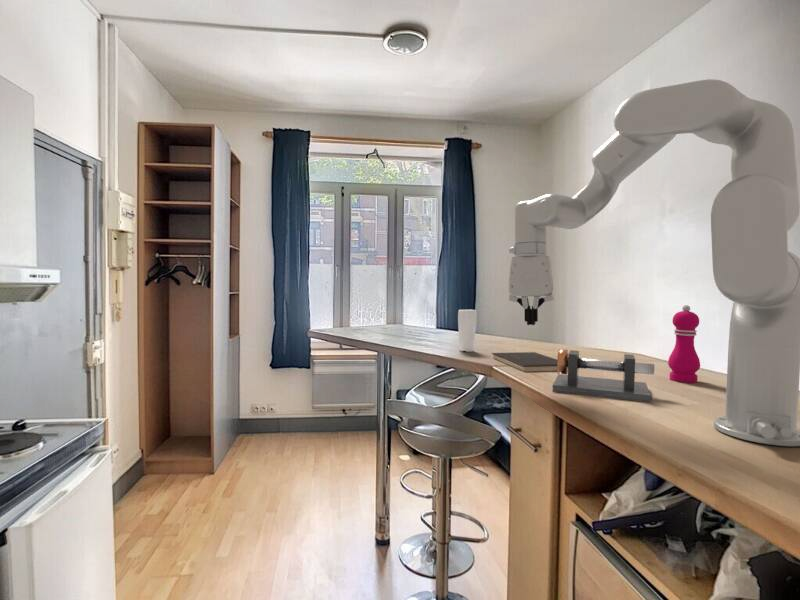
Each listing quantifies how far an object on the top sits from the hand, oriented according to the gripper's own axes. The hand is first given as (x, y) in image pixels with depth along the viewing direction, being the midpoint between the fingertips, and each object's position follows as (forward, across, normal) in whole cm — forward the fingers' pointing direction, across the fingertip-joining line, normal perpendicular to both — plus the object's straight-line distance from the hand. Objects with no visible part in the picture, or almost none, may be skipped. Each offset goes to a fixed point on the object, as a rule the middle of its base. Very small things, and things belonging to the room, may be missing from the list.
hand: (531, 324), depth 113 cm
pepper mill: (+16, +36, +24) cm, 46 cm away
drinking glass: (+13, -29, +44) cm, 54 cm away
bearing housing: (+15, +16, +1) cm, 22 cm away
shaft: (+12, +16, +1) cm, 21 cm away
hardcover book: (+15, -5, +29) cm, 33 cm away
